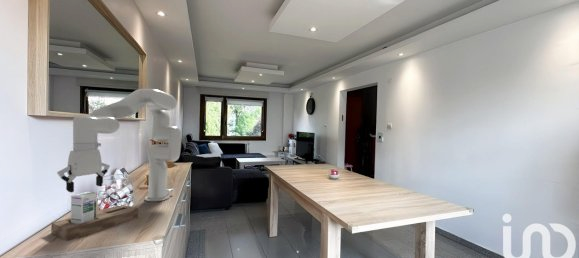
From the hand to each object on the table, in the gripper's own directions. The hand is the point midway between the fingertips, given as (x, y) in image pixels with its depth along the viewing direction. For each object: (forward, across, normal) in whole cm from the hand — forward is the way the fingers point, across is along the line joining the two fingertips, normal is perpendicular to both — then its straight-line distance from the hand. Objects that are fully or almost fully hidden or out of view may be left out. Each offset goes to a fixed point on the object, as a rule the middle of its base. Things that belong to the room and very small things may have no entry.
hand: (85, 188), depth 98 cm
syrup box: (+17, +1, 0) cm, 17 cm away
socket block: (+17, -4, 0) cm, 17 cm away
